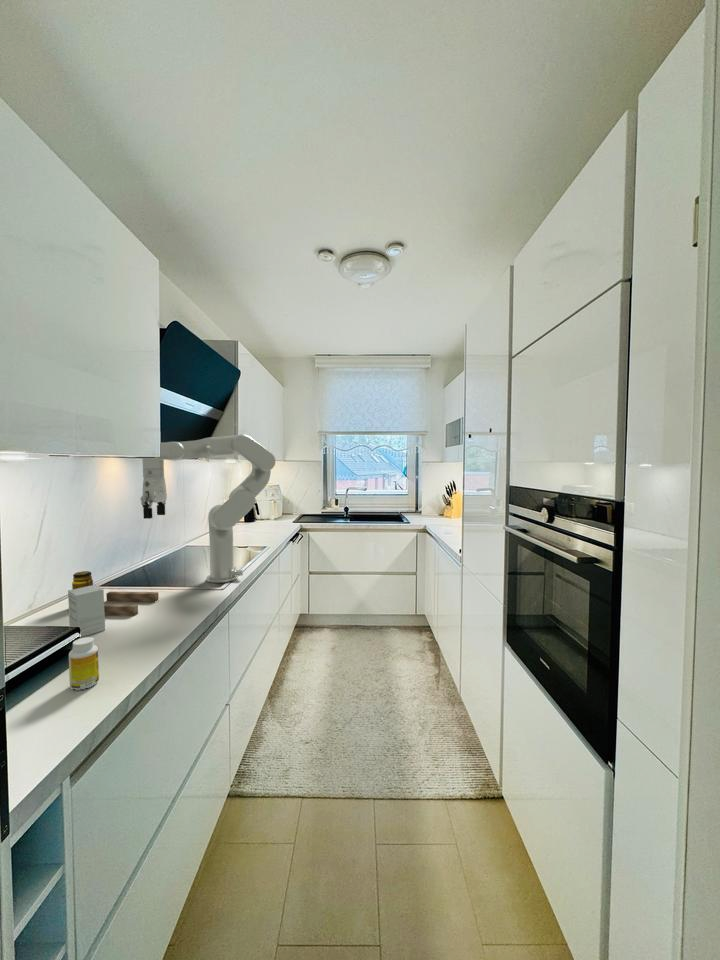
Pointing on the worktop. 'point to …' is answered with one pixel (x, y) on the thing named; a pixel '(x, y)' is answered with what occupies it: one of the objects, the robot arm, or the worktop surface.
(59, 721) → the worktop surface
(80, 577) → the yellow and black cylinder
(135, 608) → the channel
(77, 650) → the supplement bottle
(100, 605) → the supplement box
